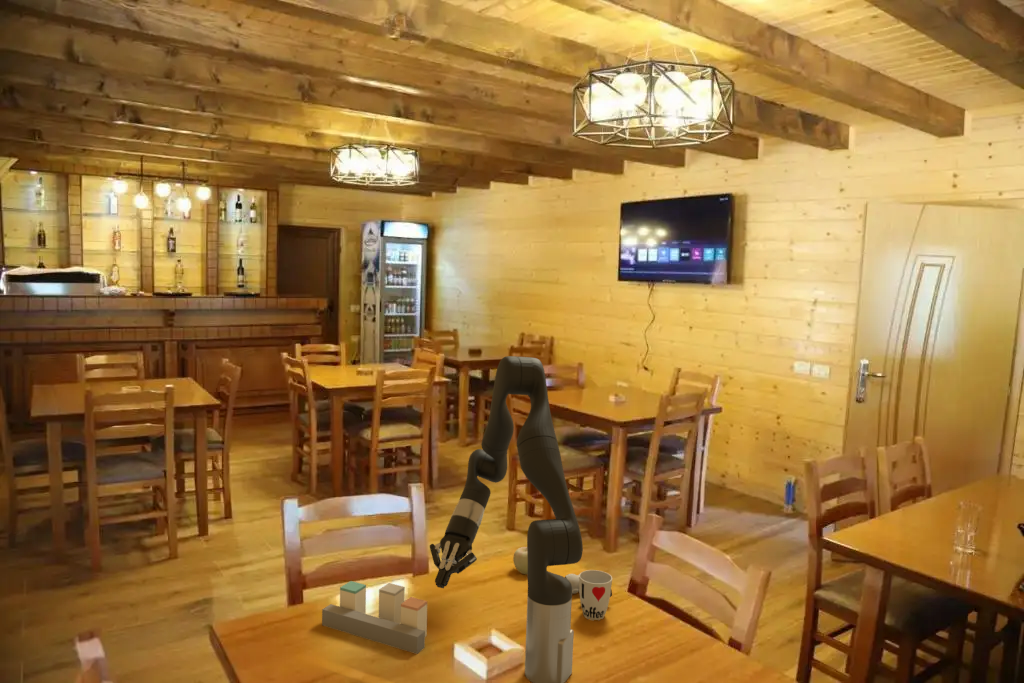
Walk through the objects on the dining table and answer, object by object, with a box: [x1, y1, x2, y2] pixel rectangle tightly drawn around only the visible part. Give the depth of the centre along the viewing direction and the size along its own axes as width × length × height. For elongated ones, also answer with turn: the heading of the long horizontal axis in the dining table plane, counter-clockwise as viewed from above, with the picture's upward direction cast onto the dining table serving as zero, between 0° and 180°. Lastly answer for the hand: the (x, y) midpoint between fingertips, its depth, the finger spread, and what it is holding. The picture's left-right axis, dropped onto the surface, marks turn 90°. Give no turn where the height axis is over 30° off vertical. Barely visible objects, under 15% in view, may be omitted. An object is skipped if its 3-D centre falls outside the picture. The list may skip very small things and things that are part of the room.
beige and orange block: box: [400, 596, 428, 638], centre depth 159 cm, size 4×4×8 cm
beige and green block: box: [339, 580, 367, 614], centre depth 166 cm, size 4×4×8 cm
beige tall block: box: [378, 582, 406, 624], centre depth 166 cm, size 4×4×8 cm
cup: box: [578, 569, 613, 621], centre depth 174 cm, size 8×8×10 cm
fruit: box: [512, 546, 528, 575], centre depth 199 cm, size 8×7×8 cm
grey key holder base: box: [321, 603, 426, 655], centre depth 165 cm, size 26×16×5 cm, turn 65°
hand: (439, 586), depth 169 cm, fingers closed
